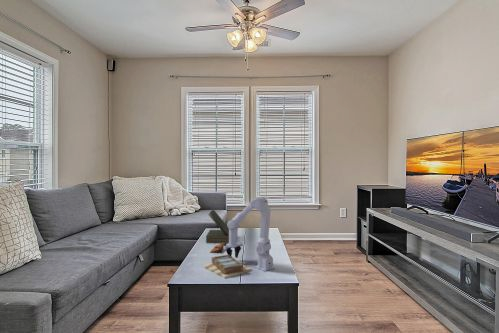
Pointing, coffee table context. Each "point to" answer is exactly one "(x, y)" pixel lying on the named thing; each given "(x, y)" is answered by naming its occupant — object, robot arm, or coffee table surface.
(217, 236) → the green open lidded box
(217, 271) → the birch board
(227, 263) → the tan cardboard box
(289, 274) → the coffee table surface
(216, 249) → the sweet potato
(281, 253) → the coffee table surface
